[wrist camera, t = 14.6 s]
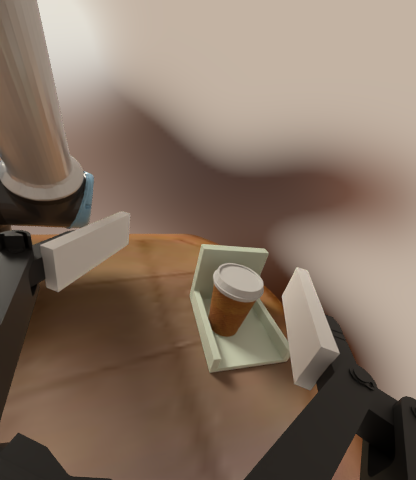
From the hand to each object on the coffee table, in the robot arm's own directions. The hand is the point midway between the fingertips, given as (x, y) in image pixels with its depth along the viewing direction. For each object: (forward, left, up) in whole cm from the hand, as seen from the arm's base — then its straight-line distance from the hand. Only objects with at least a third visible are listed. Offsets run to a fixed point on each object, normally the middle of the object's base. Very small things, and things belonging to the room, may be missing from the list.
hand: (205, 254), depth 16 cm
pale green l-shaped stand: (-13, +15, -25) cm, 32 cm away
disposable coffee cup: (-14, +13, -25) cm, 31 cm away
